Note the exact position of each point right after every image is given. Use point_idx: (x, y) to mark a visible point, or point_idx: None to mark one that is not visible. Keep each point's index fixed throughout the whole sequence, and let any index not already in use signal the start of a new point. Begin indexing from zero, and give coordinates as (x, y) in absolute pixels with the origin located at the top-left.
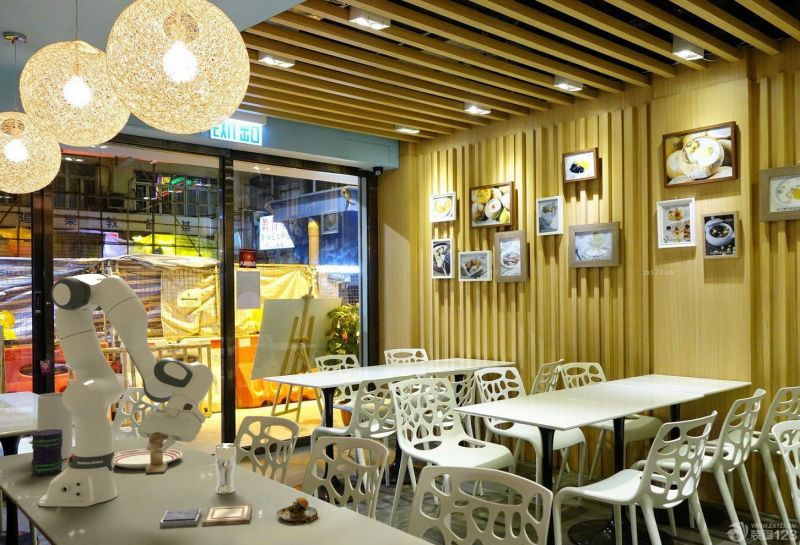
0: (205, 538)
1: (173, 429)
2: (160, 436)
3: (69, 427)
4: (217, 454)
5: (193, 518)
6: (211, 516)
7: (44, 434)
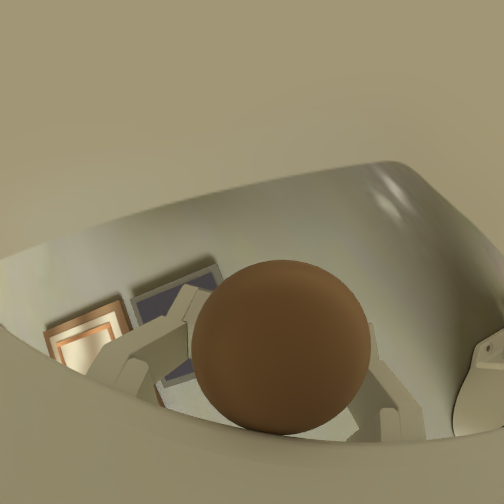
0: (89, 227)
1: (43, 426)
2: (199, 323)
3: None
4: None
5: (139, 302)
6: (112, 335)
7: None
